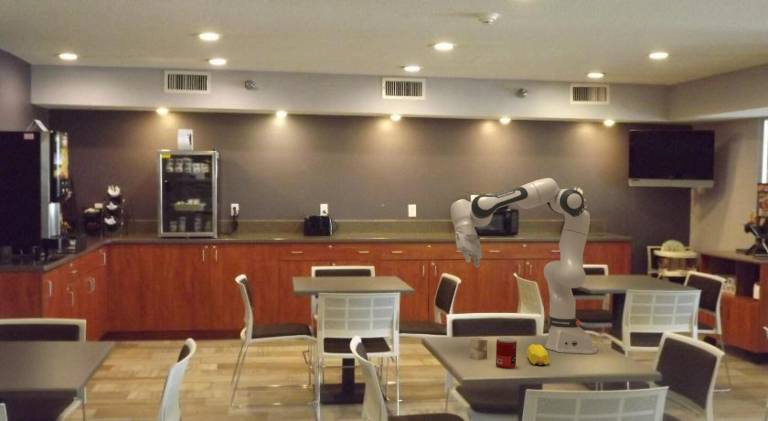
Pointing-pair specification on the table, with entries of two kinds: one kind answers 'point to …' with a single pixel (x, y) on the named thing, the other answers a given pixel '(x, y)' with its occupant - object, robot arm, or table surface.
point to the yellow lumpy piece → (537, 355)
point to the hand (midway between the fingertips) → (473, 264)
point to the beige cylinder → (478, 348)
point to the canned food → (506, 352)
